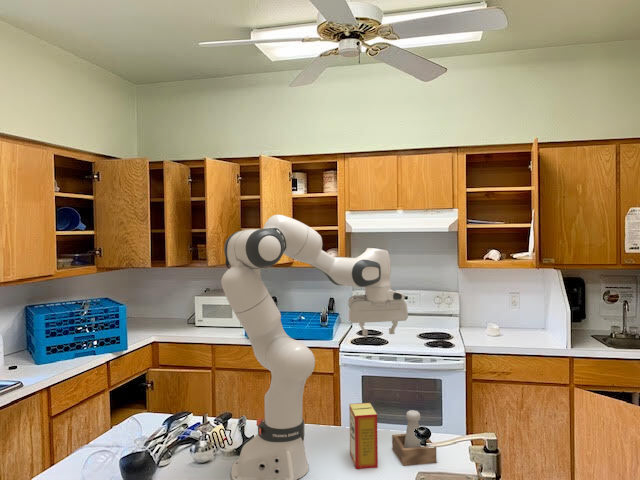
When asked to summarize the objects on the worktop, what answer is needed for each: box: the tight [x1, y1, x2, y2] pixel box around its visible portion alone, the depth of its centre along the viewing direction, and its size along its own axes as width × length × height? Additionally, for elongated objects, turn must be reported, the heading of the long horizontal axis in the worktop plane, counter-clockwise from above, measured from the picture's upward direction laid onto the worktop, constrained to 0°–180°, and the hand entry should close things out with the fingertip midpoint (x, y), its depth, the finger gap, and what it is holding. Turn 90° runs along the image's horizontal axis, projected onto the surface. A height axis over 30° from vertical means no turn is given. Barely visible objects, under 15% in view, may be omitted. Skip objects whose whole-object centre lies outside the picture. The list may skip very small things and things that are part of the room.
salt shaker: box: [404, 409, 421, 448], centre depth 137 cm, size 6×6×13 cm
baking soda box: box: [349, 402, 379, 470], centre depth 135 cm, size 10×6×16 cm
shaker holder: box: [391, 433, 437, 467], centre depth 137 cm, size 10×10×5 cm
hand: (378, 334), depth 153 cm, fingers open, 8 cm apart
